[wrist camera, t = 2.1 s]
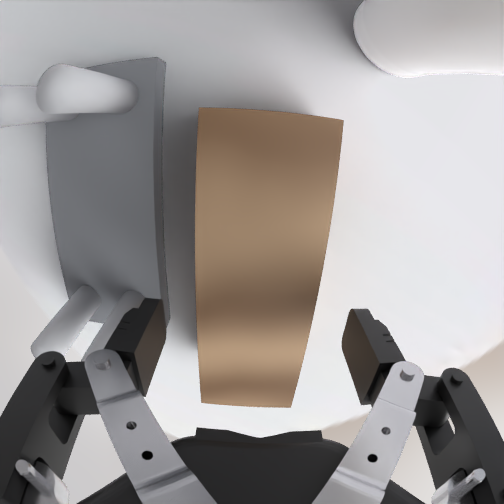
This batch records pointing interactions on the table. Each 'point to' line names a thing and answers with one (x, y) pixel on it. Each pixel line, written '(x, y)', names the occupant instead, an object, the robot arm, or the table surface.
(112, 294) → the peg stand
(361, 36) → the drinking glass
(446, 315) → the table surface
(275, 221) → the brown rectangular block
